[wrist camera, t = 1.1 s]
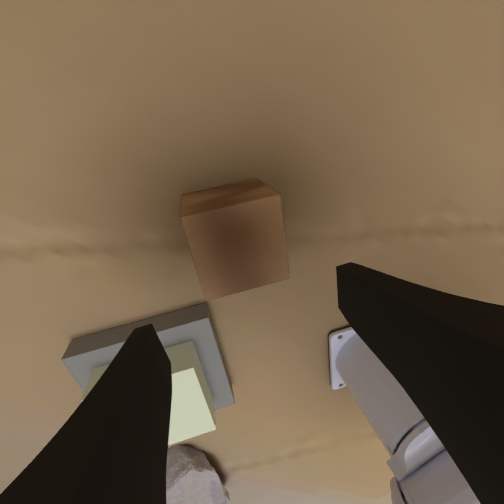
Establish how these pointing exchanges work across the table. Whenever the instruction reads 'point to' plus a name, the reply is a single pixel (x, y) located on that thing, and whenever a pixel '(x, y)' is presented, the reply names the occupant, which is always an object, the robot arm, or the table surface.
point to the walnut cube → (235, 237)
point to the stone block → (192, 478)
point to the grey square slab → (170, 333)
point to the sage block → (181, 393)
